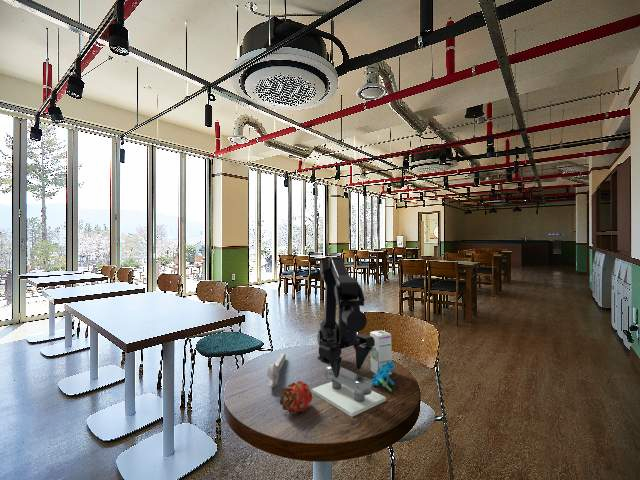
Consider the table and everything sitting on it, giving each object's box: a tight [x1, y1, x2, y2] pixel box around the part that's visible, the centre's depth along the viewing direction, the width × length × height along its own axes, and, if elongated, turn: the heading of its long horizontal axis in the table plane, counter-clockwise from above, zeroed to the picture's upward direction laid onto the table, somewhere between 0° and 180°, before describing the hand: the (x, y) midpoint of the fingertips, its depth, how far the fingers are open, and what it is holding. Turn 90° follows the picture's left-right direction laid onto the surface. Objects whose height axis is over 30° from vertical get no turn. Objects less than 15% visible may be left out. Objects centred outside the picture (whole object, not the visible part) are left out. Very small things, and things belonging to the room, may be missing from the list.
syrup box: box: [369, 329, 393, 376], centre depth 115 cm, size 6×6×14 cm
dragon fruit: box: [279, 380, 313, 416], centre depth 90 cm, size 8×8×12 cm
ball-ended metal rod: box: [325, 363, 373, 395], centre depth 98 cm, size 5×18×3 cm, turn 39°
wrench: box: [266, 352, 286, 389], centre depth 113 cm, size 8×2×30 cm
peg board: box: [311, 379, 387, 418], centre depth 97 cm, size 14×18×4 cm
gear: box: [371, 360, 396, 392], centre depth 105 cm, size 11×6×10 cm
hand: (347, 373), depth 98 cm, fingers open, 9 cm apart
